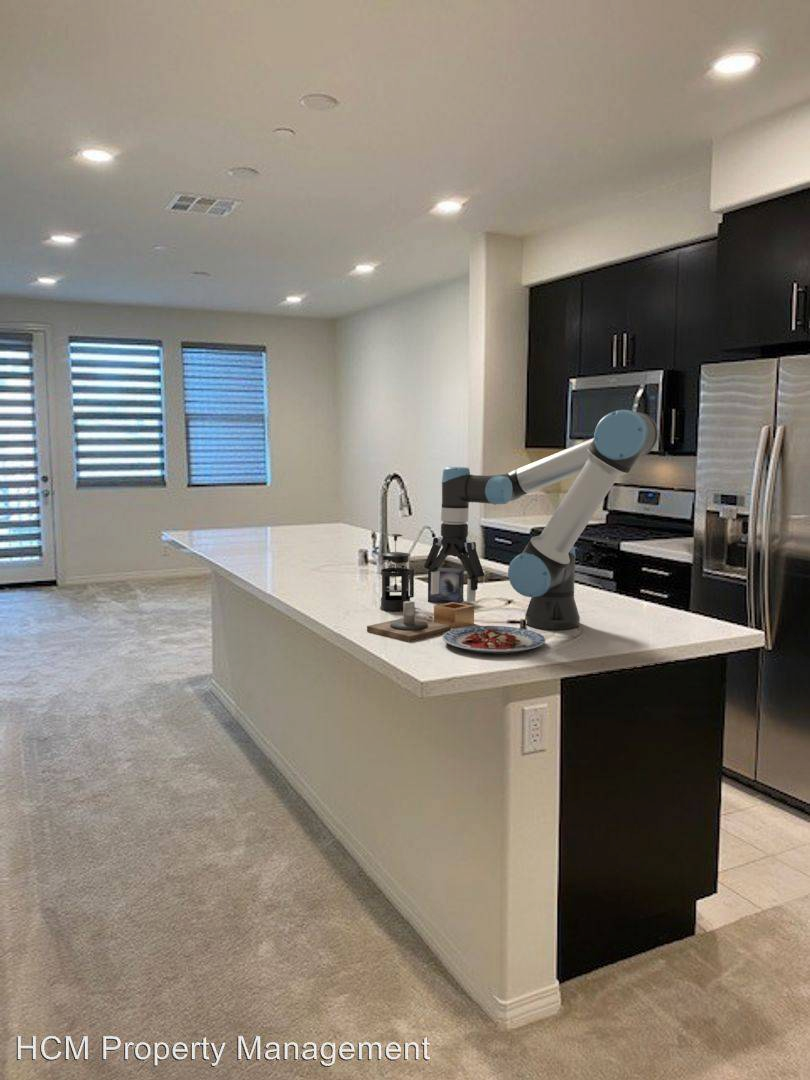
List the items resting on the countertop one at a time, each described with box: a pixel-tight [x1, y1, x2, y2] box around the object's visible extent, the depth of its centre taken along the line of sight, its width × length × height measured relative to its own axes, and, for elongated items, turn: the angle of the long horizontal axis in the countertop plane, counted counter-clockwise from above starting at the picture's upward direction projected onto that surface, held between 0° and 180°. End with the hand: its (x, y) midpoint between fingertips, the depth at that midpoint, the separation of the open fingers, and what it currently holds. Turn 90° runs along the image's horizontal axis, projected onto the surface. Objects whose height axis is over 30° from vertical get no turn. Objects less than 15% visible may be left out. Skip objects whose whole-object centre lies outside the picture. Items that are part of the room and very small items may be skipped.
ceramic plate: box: [442, 625, 546, 655], centre depth 203 cm, size 26×26×3 cm
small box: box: [427, 567, 465, 604], centre depth 258 cm, size 11×6×10 cm, turn 71°
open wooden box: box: [433, 602, 475, 629], centre depth 226 cm, size 8×8×5 cm
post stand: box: [366, 600, 452, 643], centre depth 216 cm, size 16×16×8 cm
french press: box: [379, 533, 415, 613], centre depth 246 cm, size 12×9×23 cm
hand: (452, 597), depth 226 cm, fingers open, 13 cm apart
